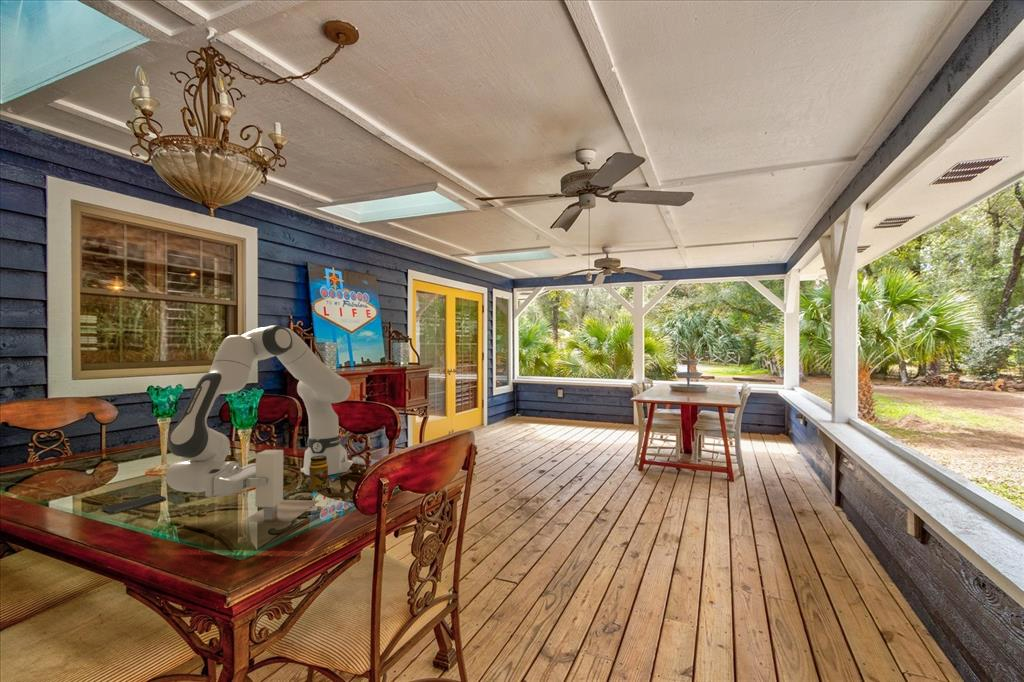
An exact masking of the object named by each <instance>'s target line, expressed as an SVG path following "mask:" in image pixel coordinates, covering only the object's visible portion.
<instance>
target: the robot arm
mask: <svg viewBox="0 0 1024 682" xmlns="http://www.w3.org/2000/svg"><path fill="white" fill-rule="evenodd" d="M273 357H276V358H277V359H278V360H279V362H280V363H281V364H282V365H283V366H284V367H285V369H286V370H287V371H288V372H289V373H290V374H291V375H292V376H293V378H294V379H296V380H298V383H297V386H296V392H297V394H298V396H299V397H300V398H301V399H302V401H303V404H304V406H305V408H306V413H307V416H308V417H307V418H308V437H307V447H308V448H307V449H305V451H304V457H303V458H304V459H303V467H302V468H300V473H303V474H304V475H306V476H309V466H310V465H311V464H310V462H311V457H313V456H319V455H323V456H326V457H327V464H328V476H330V475H336V474H340V473H346V472H348V471H349V470H350V468H351V467H352V465H353V463H354V461H353V460H350V459H348V450H346V448H345V447H344V446H343V445H342V444H341V440H342V439H343V433H341V434H340V433H339V415H338V414H337V412H335V410H334V408H333V405H332V404H337V403H341V402H345V401H346V400H347V399H348V398H349V397H350V395H351V392H352V387H351V383H350V381H349V380H348V379H347V378H345V377H343V376H341V375H339V374H338V373H337V372H335V371H334V370H332V369H331V368H330V367H329V366H328V365H326V364H325V363H323V361H321V360H320V359H319V358H318V356H316V354H315V353H314V352H313V351H312V349H311V348H310V346H308V344H307V343H306V342H305V341H304V340H303V339H302V337H300V336H299V335H298V334H297V333H296V332H294V331H293V330H292V329H290V328H288V327H284V326H282V325H277V324H275V325H273V324H272V325H268V326H264V327H263V326H262V327H258V328H254V329H253V330H250V331H247V332H242V333H239V334H232V335H228V336H227V337H225V338H223V340H222V342H221V344H220V345H219V347H218V348H217V351H216V353H215V355H214V357H213V361H212V364H211V366H210V369H209V371H208V372H207V373H206V374H204V375H203V376H202V377H201V378H200V379H199V381H198V382H197V384H196V386H195V387H194V389H193V392H192V394H191V396H190V399H189V400H188V402H187V404H186V407H185V408H184V410H183V413H182V414H181V416H180V419H179V420H178V421H177V422H176V424H175V426H173V428H172V430H171V431H170V432H169V435H168V438H167V447H168V450H169V451H170V453H171V454H172V455H174V456H177V457H180V458H179V459H178V460H177V461H175V462H173V463H172V464H169V466H168V468H167V470H166V473H165V479H166V483H167V485H168V486H169V488H171V489H172V490H174V491H177V492H183V493H202V492H205V493H204V494H205V497H206V498H214V497H216V496H232V495H236V494H239V493H241V492H242V491H244V490H247V489H248V488H250V487H256V485H265V484H266V483H268V481H267V480H268V478H267V477H261V478H256V462H254V463H252V462H251V463H248V464H246V465H244V466H240V464H239V463H238V462H237V461H232V460H231V461H230V460H229V461H226V460H227V457H228V454H229V452H230V450H231V441H230V439H229V437H228V436H227V435H226V434H224V433H221V432H219V431H218V430H215V429H213V428H211V427H209V426H208V424H207V419H208V416H209V414H210V412H211V410H212V407H213V405H214V403H215V400H216V399H217V397H219V396H220V395H221V394H222V395H227V394H228V395H229V394H235V393H237V392H239V391H241V390H242V389H244V388H245V386H246V385H247V384H248V383H247V382H248V380H249V378H250V374H251V371H252V366H253V362H256V361H257V362H258V361H264V360H267V359H270V358H273Z"/></svg>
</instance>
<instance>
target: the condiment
mask: <svg viewBox="0 0 1024 682" xmlns="http://www.w3.org/2000/svg"><path fill="white" fill-rule="evenodd" d="M310 464H311V465H310V466H309V475H308V476H309V477H308V478H309V479H308V481H309V482H308V483H309V485H308V486H309V491H315V492H317V491H322V490H326V489H328V488H329V475H328V464H327V457H326V456H323V455H319V456H313V457H311V462H310Z"/></svg>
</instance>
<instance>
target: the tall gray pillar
mask: <svg viewBox="0 0 1024 682" xmlns="http://www.w3.org/2000/svg"><path fill="white" fill-rule="evenodd" d="M255 463H256V478H261V477H267V478H268V480H267V481H268V483H266V484H265V485H256V486H255V496H254V497H255V501H254V502H255V503H254V504H255V508H256V507H258V508H264V507H274V506H276V505H277V504H279V503H280V502H282V501H283V500H284V449H264V450H263V451H260V452H257V453H255Z"/></svg>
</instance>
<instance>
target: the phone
mask: <svg viewBox="0 0 1024 682" xmlns="http://www.w3.org/2000/svg"><path fill="white" fill-rule="evenodd" d="M163 500H165V501H166V500H167V497H166V496H162V495H160V494H151V495H146V496H142V497H139V498H134V499H131V500H127V501H126V500H125V501H121V502H118V503H114V504H110V505H106V506H103V507H101V511H102V510H103V511H102V512H104V511H106V512H108V513H107V514H109V513H115V514H118V513H117V512H119V513H122V512H121V511H123V512H126V511H125V510H127V511H129V510H128V509H131V510H134V509H133V508H135V509H138V508H137V507H139V508H141V507H140V506H143V507H145V506H144V505H147V506H149V505H148V504H151V505H153V504H152V503H155V502H158V503H160V502H159V501H162V502H164V501H163ZM155 504H156V503H155ZM106 512H105V513H106Z"/></svg>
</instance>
